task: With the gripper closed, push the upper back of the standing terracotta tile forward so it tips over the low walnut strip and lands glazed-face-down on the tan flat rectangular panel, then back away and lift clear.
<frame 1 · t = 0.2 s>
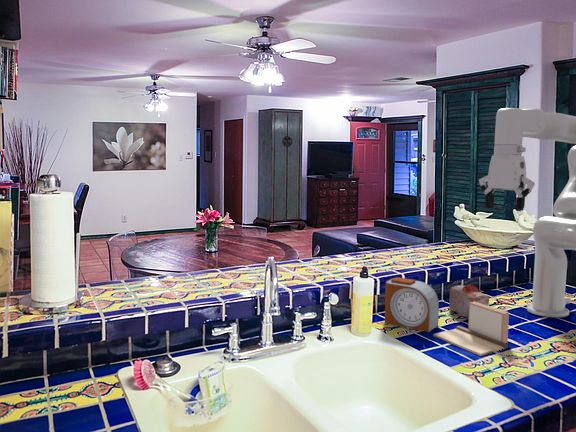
hand: (504, 209, 161), 36 cm above the countertop, tool pointing down, fingers open, 9 cm apart
tan flat rectangular panel: (467, 342, 152), on the countertop
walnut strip: (480, 339, 155), on the countertop
tile: (487, 337, 156), on the countertop
food item: (467, 315, 176), on the countertop
alarm clock: (410, 324, 168), on the countertop
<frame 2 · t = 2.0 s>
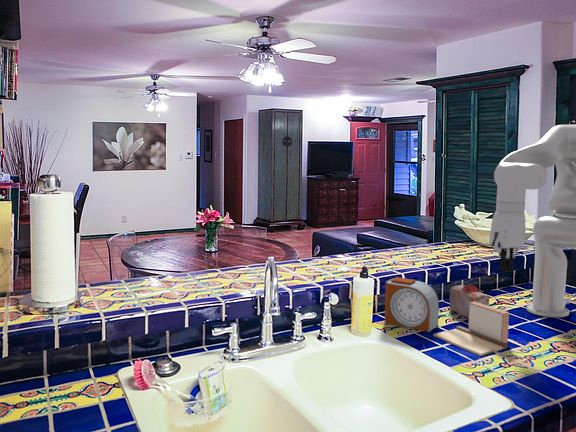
hand: (506, 271, 157), 19 cm above the countertop, tool pointing down, fingers closed
nothing on the countertop moved.
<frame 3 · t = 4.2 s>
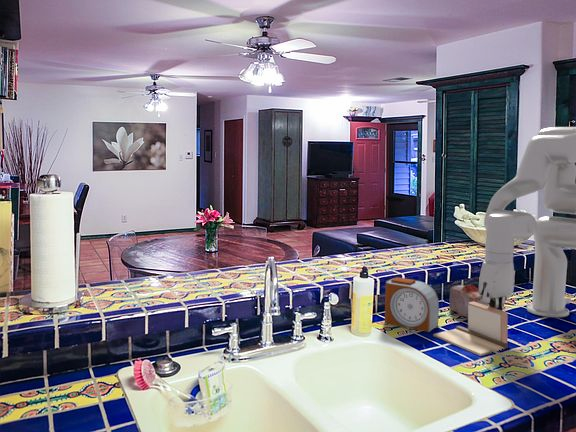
hand: (495, 319, 157), 5 cm above the countertop, tool pointing down, fingers closed
nothing on the countertop moved.
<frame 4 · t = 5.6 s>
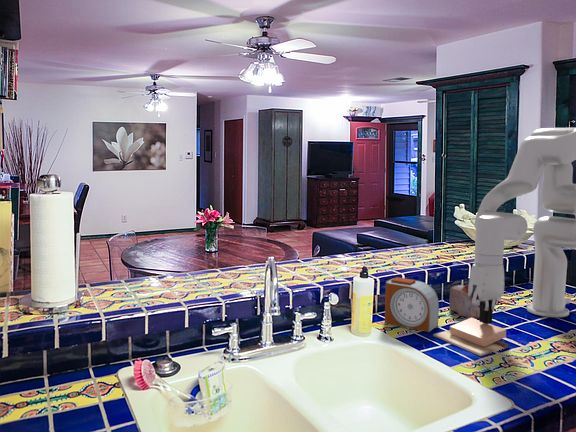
hand: (485, 322, 155), 5 cm above the countertop, tool pointing down, fingers closed
tile: (488, 326, 156), point 3 cm above the countertop, tilted 97°, touching tan flat rectangular panel, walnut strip
everything else where it was.
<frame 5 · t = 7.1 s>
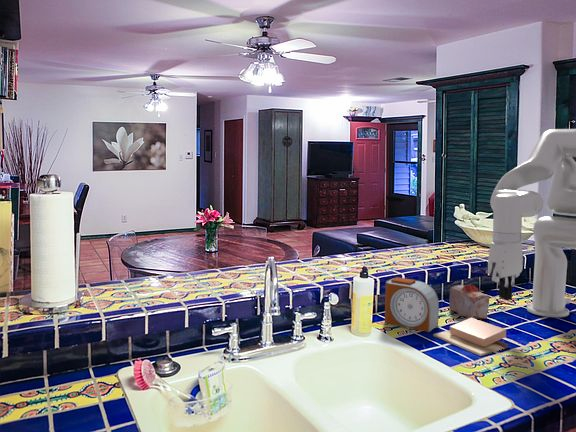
hand: (505, 298, 158), 10 cm above the countertop, tool pointing down, fingers closed
nothing on the countertop moved.
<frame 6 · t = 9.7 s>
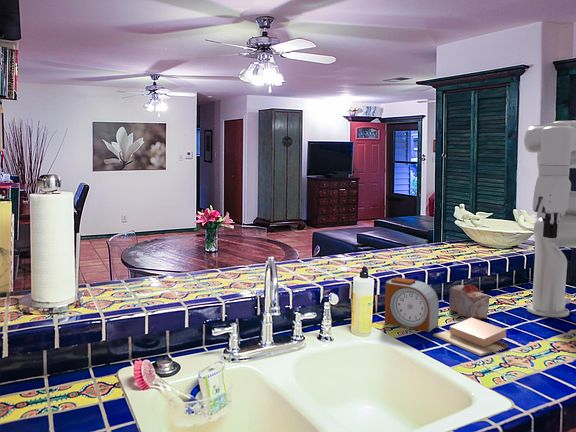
hand: (549, 237, 152), 29 cm above the countertop, tool pointing down, fingers closed
nothing on the countertop moved.
at the end: tile tilted 97°; tile touching tan flat rectangular panel, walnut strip; tile inside the target area (5.2 cm from its centre), point 3.1 cm above the countertop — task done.
